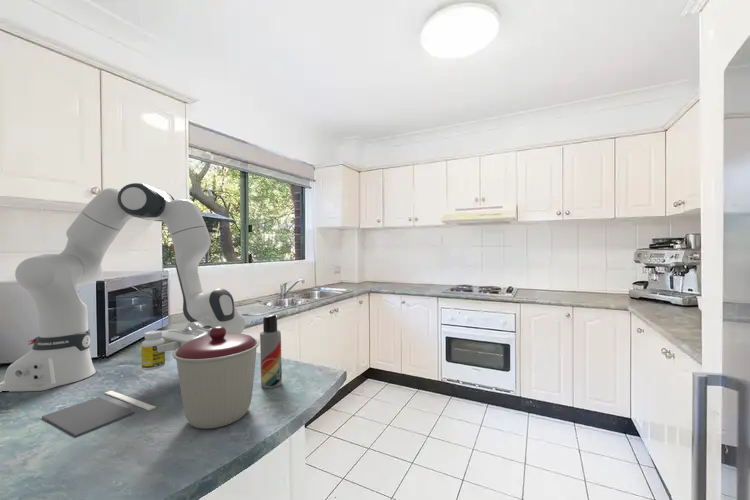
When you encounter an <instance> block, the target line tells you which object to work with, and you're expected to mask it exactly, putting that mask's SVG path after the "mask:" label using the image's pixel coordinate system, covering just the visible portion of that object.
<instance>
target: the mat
mask: <svg viewBox="0 0 750 500" xmlns="http://www.w3.org/2000/svg"><path fill="white" fill-rule="evenodd" d="M135 413H136V412H135V410H133V409H130V408H128V407H125V406H122V405H120V404H117V403H114V402H112V401H109V400H108V399H105V398H102V397H99V396H98V397H95V398H92V399H89V400H85V401H83V402H80V403H77V404H74V405H72V406H67V407H65V408H62V409H59V410H56V411H53V412H49V413H46V414H44V415H42V416H41V419H43V420H45V421H47V422H49V423H51V424H52V425H53V426H56V428H57V427H58V428H59V429H61V430H63V431H65V432H66V433H68V434H70V435H72V436H74V437H75V438H76V437H80V436H82V435H84V434H87V433H89V432H91V431H95V430H96V429H98V428H101V427H102V428H103V426H106V425H107V426H108V425H110V424H111V423H114V422H116V421H119V420H121V419H124V418H126V417H128V416H131V415H135Z"/></svg>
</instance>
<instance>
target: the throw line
mask: <svg viewBox="0 0 750 500" xmlns="http://www.w3.org/2000/svg"><path fill="white" fill-rule="evenodd" d="M104 394H105V395H108V396H109V397H112V398H115V399H117V400H121V401H122V402H123V401H124V402H126V403H128V404H130V405H134V406H135V407H139V408H141V409H144V410H147V411H148V412H149V411H151V410H155V409H156V406H155V405H151V404H149V403H147V402H143V401H141V400H139V399H135V398H133V397H130V396H129V395H128V396H127V395H124V394H122V393H120V392H117V391H114V390H109V391H106V392H104Z"/></svg>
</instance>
